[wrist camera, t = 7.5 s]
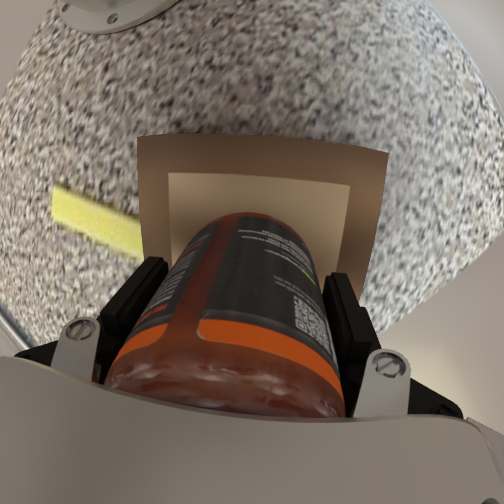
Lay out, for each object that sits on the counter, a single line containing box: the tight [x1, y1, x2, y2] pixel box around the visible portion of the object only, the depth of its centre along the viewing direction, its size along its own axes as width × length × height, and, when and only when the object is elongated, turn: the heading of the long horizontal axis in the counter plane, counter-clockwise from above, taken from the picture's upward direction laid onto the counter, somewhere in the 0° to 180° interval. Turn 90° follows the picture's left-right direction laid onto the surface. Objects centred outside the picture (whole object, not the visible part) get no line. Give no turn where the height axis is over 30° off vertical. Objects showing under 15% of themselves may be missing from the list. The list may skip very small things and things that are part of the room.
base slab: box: [137, 133, 388, 303], centre depth 16 cm, size 12×12×4 cm
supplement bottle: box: [104, 212, 346, 418], centre depth 8 cm, size 6×6×11 cm
